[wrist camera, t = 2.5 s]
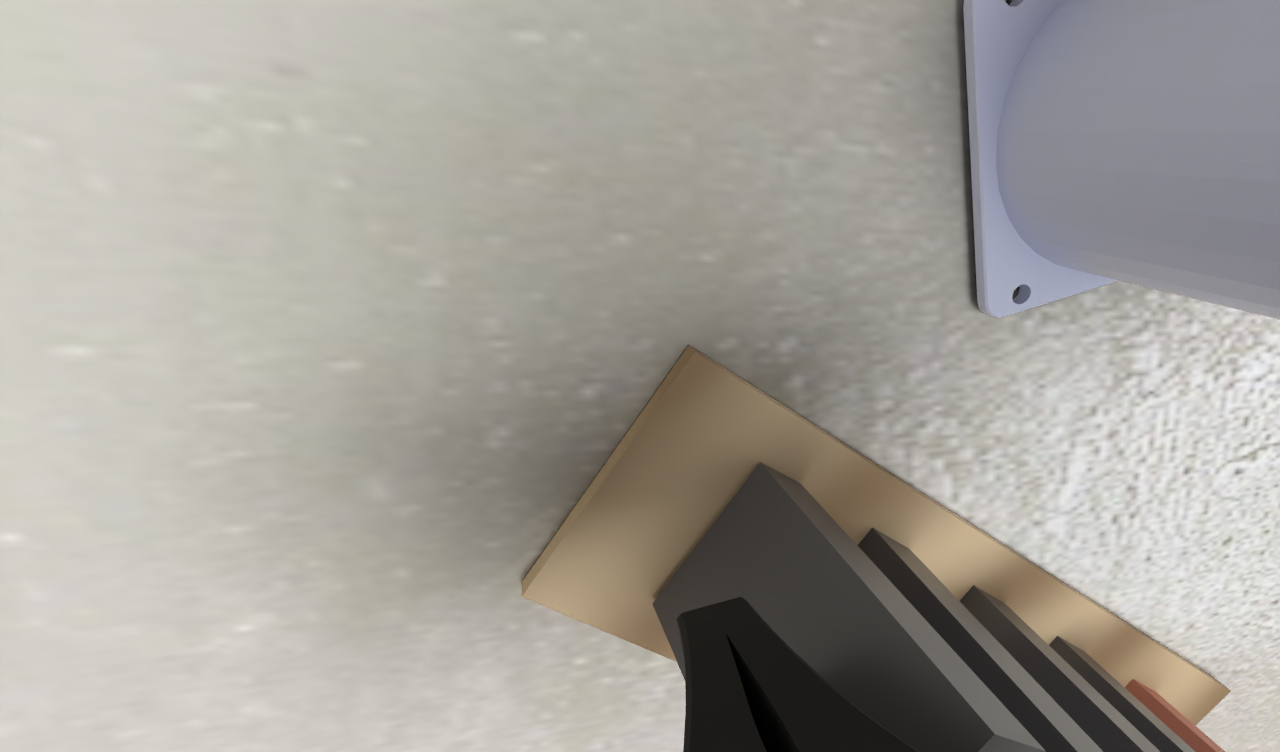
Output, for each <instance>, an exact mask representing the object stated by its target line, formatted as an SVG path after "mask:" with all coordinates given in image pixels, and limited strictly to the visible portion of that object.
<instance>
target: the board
mask: <svg viewBox="0 0 1280 752" xmlns="http://www.w3.org/2000/svg"><path fill="white" fill-rule="evenodd" d="M760 462H761V463H763V464H765V465H767V466H768V467H770V468H772V469H774V470H776V471H778V472H780V473H782V474H783V475H785V476H787V477H789V478H791V479H793V480H795V481H797V482H798V483H800V484H802V486H803V487H804V488H805V489H806V490H807V491H808V492H809V493H810V494H811V495H812V496H813V498H814V499H815V500H816V501H817V502H818V503H819V504H820V505H821V506H822V507H823V508H824V510H825V511H826V512H827V513H828V514H829V515H830V516H831V517H832V518H833V519H834V520H835V522H836V523H837V524H838V525H839V526H840V527H841V528H842V529H843V530H844V531H845V532H846V534H847V535H848V536H849V537H850V538H851V539H852V540H853V541H854V542H855V543H856V544H857V545H858V544H859V543H860V542H861V541H862V539H863V538H864V537H865V536H866V535H867V533H868V532H869V531H870V530H871V528H872V527H873V528H875V529H876V530H878V531H880V532H881V533H883V534H885V535H886V536H888V537H890V538H892V539H893V540H895V541H897V542H898V543H900V544H902V545H904V546H905V547H907V548H909V549H910V550H911V551H912V552H913V553H914V554H915V555H916V556H917V557H918V558H919V559H920V560H921V561H922V562H923V564H924V565H925V566H926V567H927V568H928V569H929V570H930V571H931V572H932V573H933V574H934V575H935V576H936V577H937V578H938V579H939V580H940V581H941V582H942V583H943V584H944V585H945V587H946V588H947V589H948V590H949V591H950V592H951V593H952V594H953V595H954V596H955V597H956V598H957V599H958V600H959V601H960V600H961V599H962V597H963V596H964V595H965V594H966V593H967V592H968V591H969V590H970V588H971V587H972V586H973V585H974V586H976V587H978V588H979V589H981V590H983V591H984V592H986V593H988V594H990V595H991V596H993V597H995V598H996V599H998V600H1000V601H1002V602H1003V603H1005V604H1006V605H1007V606H1008V607H1009V608H1010V609H1011V610H1012V611H1013V612H1015V613H1016V614H1017V615H1018V616H1019V617H1020V618H1021V619H1022V620H1023V621H1024V622H1025V623H1026V624H1027V625H1028V626H1029V627H1030V628H1031V629H1032V630H1033V631H1034V632H1035V633H1037V634H1038V635H1039V636H1040V637H1041V638H1042V639H1043V640H1044V641H1045V642H1046V643H1047V644H1048V645H1049V644H1050V643H1051V642H1052V641H1053V640H1054V639H1055V638H1056V637H1057V636H1059V637H1061V638H1062V639H1064V640H1066V641H1068V642H1069V643H1071V644H1073V645H1074V646H1076V647H1078V648H1080V649H1081V650H1083V651H1085V652H1086V653H1087V654H1088V655H1089V656H1090V657H1091V658H1093V659H1094V660H1095V661H1096V662H1097V663H1098V664H1099V665H1100V666H1101V667H1102V668H1104V669H1105V670H1106V671H1107V672H1108V673H1109V674H1110V675H1111V676H1112V677H1114V678H1115V679H1116V680H1117V681H1118V682H1119V683H1120V684H1121V685H1122V686H1123V687H1125V686H1126V685H1127V684H1128V683H1129V682H1130V681H1131V680H1132V679H1134V680H1136V681H1138V682H1140V683H1141V684H1143V685H1145V686H1146V687H1148V688H1150V689H1152V690H1153V691H1155V692H1157V693H1158V694H1159V695H1160V696H1161V697H1163V698H1164V699H1165V700H1166V701H1167V702H1168V703H1169V704H1171V705H1172V706H1173V707H1174V708H1175V709H1176V710H1178V711H1179V712H1180V713H1181V714H1182V715H1183V716H1184V717H1186V718H1187V719H1188V720H1189V721H1190V722H1191V723H1193V724H1194V725H1196V724H1197V723H1198V722H1200V721H1201V720H1202V719H1203V718H1204V717H1205V716H1206V715H1207V714H1208V713H1209V712H1210V711H1211V710H1212V709H1213V708H1214V707H1215V706H1216V705H1217V704H1218V703H1219V702H1220V701H1221V700H1222V699H1223V698H1224V697H1225V696H1226V695H1227V694H1228V693H1229V692H1230V690H1229V689H1228V688H1227V687H1225V686H1224V685H1223V684H1221V683H1220V682H1219V681H1218V680H1216V679H1215V678H1213V677H1212V676H1210V675H1209V674H1207V673H1205V672H1204V671H1202V670H1201V669H1199V668H1198V667H1196V666H1194V665H1193V664H1191V663H1190V662H1188V661H1187V660H1185V659H1183V658H1182V657H1180V656H1179V655H1177V654H1175V653H1174V652H1172V651H1171V650H1169V649H1168V648H1166V647H1164V646H1163V645H1161V644H1160V643H1158V642H1157V641H1155V640H1153V639H1152V638H1150V637H1149V636H1147V635H1146V634H1144V633H1142V632H1141V631H1139V630H1138V629H1136V628H1134V627H1133V626H1131V625H1130V624H1128V623H1127V622H1125V621H1123V620H1122V619H1120V618H1119V617H1117V616H1116V615H1114V614H1112V613H1111V612H1109V611H1108V610H1106V609H1105V608H1103V607H1101V606H1100V605H1098V604H1097V603H1095V602H1093V601H1092V600H1090V599H1089V598H1087V597H1086V596H1084V595H1082V594H1081V593H1079V592H1078V591H1076V590H1075V589H1073V588H1071V587H1070V586H1068V585H1067V584H1065V583H1064V582H1062V581H1060V580H1059V579H1057V578H1056V577H1054V576H1052V575H1051V574H1049V573H1048V572H1046V571H1045V570H1043V569H1041V568H1040V567H1038V566H1037V565H1035V564H1034V563H1032V562H1030V561H1029V560H1027V559H1026V558H1024V557H1023V556H1021V555H1019V554H1018V553H1016V552H1015V551H1013V550H1011V549H1010V548H1008V547H1007V546H1005V545H1004V544H1002V543H1000V542H999V541H997V540H996V539H994V538H993V537H991V536H989V535H988V534H986V533H985V532H983V531H981V530H980V529H978V528H977V527H975V526H974V525H972V524H970V523H969V522H967V521H966V520H964V519H963V518H961V517H959V516H958V515H956V514H955V513H953V512H952V511H950V510H948V509H947V508H945V507H944V506H942V505H940V504H939V503H937V502H936V501H934V500H933V499H931V498H929V497H928V496H926V495H925V494H923V493H922V492H920V491H918V490H917V489H915V488H914V487H912V486H911V485H909V484H907V483H906V482H904V481H903V480H901V479H899V478H898V477H896V476H895V475H893V474H892V473H890V472H888V471H887V470H885V469H884V468H882V467H881V466H879V465H877V464H876V463H874V462H873V461H871V460H870V459H868V458H866V457H865V456H863V455H862V454H860V453H858V452H857V451H855V450H854V449H852V448H851V447H849V446H847V445H846V444H844V443H843V442H841V441H840V440H838V439H836V438H835V437H833V436H832V435H830V434H829V433H827V432H825V431H824V430H822V429H821V428H819V427H817V426H816V425H814V424H813V423H811V422H810V421H808V420H806V419H805V418H803V417H802V416H800V415H799V414H797V413H795V412H794V411H792V410H791V409H789V408H788V407H786V406H784V405H783V404H781V403H780V402H778V401H776V400H775V399H773V398H772V397H770V396H769V395H767V394H765V393H764V392H762V391H761V390H759V389H758V388H756V387H754V386H753V385H751V384H750V383H748V382H746V381H745V380H743V379H742V378H740V377H739V376H737V375H735V374H734V373H732V372H731V371H729V370H728V369H726V368H724V367H723V366H721V365H720V364H718V363H717V362H715V361H713V360H712V359H710V358H709V357H707V356H705V355H704V354H702V353H701V352H699V351H698V350H696V349H694V348H693V347H691V346H690V345H688V346H687V348H686V349H685V351H684V352H683V354H682V355H681V356H680V358H679V359H678V361H677V362H676V364H675V365H674V366H673V368H672V369H671V371H670V372H669V374H668V375H667V376H666V378H665V379H664V381H663V382H662V383H661V385H660V386H659V388H658V389H657V391H656V392H655V393H654V395H653V396H652V398H651V399H650V401H649V402H648V403H647V405H646V406H645V408H644V409H643V410H642V412H641V413H640V415H639V416H638V418H637V419H636V420H635V422H634V423H633V425H632V426H631V428H630V429H629V430H628V432H627V433H626V435H625V436H624V437H623V439H622V440H621V442H620V443H619V445H618V446H617V447H616V449H615V450H614V452H613V453H612V455H611V456H610V457H609V459H608V460H607V462H606V463H605V465H604V466H603V467H602V469H601V470H600V472H599V473H598V474H597V476H596V477H595V479H594V480H593V482H592V483H591V484H590V486H589V487H588V489H587V490H586V492H585V493H584V494H583V496H582V497H581V499H580V500H579V501H578V503H577V504H576V506H575V507H574V509H573V510H572V511H571V513H570V514H569V516H568V517H567V519H566V520H565V521H564V523H563V524H562V526H561V527H560V529H559V530H558V531H557V533H556V534H555V536H554V537H553V538H552V540H551V541H550V543H549V544H548V546H547V547H546V548H545V550H544V551H543V553H542V554H541V556H540V557H539V558H538V560H537V561H536V563H535V564H534V565H533V567H532V568H531V570H530V571H529V573H528V574H527V575H526V577H525V578H524V580H523V581H522V597H524V598H526V599H529V600H531V601H533V602H536V603H538V604H541V605H543V606H545V607H548V608H550V609H552V610H555V611H557V612H560V613H562V614H564V615H567V616H569V617H572V618H574V619H576V620H579V621H581V622H583V623H586V624H588V625H591V626H593V627H595V628H598V629H600V630H603V631H605V632H607V633H610V634H612V635H614V636H617V637H619V638H622V639H624V640H626V641H629V642H631V643H634V644H636V645H638V646H641V647H643V648H645V649H648V650H650V651H653V652H655V653H657V654H660V655H662V656H665V657H667V658H669V659H672V660H674V661H676V662H677V660H676V658H675V656H674V653H673V651H672V649H671V646H670V644H669V642H668V639H667V637H666V635H665V632H664V630H663V628H662V625H661V623H660V621H659V618H658V616H657V614H656V611H655V609H654V607H653V602H654V601H655V600H656V598H657V597H658V596H659V594H660V593H661V592H662V590H663V589H664V588H665V587H666V585H667V584H668V583H669V581H670V580H671V579H672V577H673V576H674V575H675V573H676V572H677V571H678V569H679V568H680V567H681V566H682V564H683V563H684V562H685V560H686V559H687V558H688V556H689V555H690V554H691V552H692V551H693V550H694V548H695V547H696V546H697V545H698V543H699V542H700V541H701V539H702V538H703V537H704V535H705V534H706V533H707V531H708V530H709V529H710V527H711V526H712V525H713V524H714V522H715V521H716V520H717V518H718V517H719V516H720V514H721V513H722V512H723V510H724V509H725V508H726V506H727V505H728V504H729V503H730V501H731V500H732V499H733V497H734V496H735V495H736V493H737V492H738V491H739V489H740V488H741V487H742V485H743V484H744V483H745V482H746V480H747V479H748V478H749V476H750V475H751V474H752V472H753V471H754V470H755V468H756V467H757V466H758V464H759V463H760Z"/></svg>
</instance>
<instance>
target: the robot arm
mask: <svg viewBox="0 0 1280 752" xmlns="http://www.w3.org/2000/svg"><path fill="white" fill-rule="evenodd" d="M963 11H964V32H965V53H966V73H967V94H968V115H969V136H970V157H971V177H972V198H973V219H974V240H975V261H976V281H977V302H978V306H979V309H980V310H981V311H982V312H983V313H984V314H987V315H990V316H992V317H995V318H1001V317H1006V316H1009V315H1012V314H1015V313H1018V312H1022V311H1025V310H1028V309H1031V308H1034V307H1037V306H1041V305H1044V304H1047V303H1050V302H1053V301H1056V300H1060V299H1063V298H1066V297H1069V296H1072V295H1076V294H1079V293H1082V292H1085V291H1088V290H1091V289H1095V288H1098V287H1101V286H1104V285H1107V284H1110V283H1114V282H1117V281H1123V282H1127V283H1131V284H1135V285H1139V286H1143V287H1148V288H1152V289H1156V290H1160V291H1164V292H1168V293H1172V294H1177V295H1181V296H1185V297H1189V298H1193V299H1197V300H1201V301H1206V302H1210V303H1214V304H1218V305H1222V306H1226V307H1230V308H1234V309H1239V310H1243V311H1247V312H1251V313H1255V314H1259V315H1263V316H1268V317H1272V318H1276V319H1280V0H1012V2H1011V4H1010V5H1008V4H1007V3H1006V1H1005V0H964V6H963ZM1018 286H1019V287H1020V290H1019V294H1018V295H1017V296H1016V298H1014V299H1012V296H1013V292H1014V290H1015V289H1016V288H1017V287H1018ZM677 624H678V629H679V635H680V640H681V645H682V650H683V655H684V660H685V673H686V717H685V735H684V751H683V752H920V751H918V750H917V749H915V748H914V747H912V746H911V745H909V744H908V743H906V742H905V741H903V740H902V739H900V738H899V737H897V736H896V735H895V734H893V733H892V732H890V731H889V730H888V729H886V728H885V727H884V726H882V725H881V724H879V723H878V722H877V721H875V720H874V719H873V718H871V717H870V716H869V715H867V714H866V713H865V712H864V711H862V710H861V709H860V708H858V707H857V706H856V705H855V704H853V703H852V702H851V701H850V700H849V699H847V698H846V697H845V696H844V695H842V694H841V693H840V692H839V691H838V690H836V689H835V688H834V687H833V686H832V685H831V684H829V683H828V682H827V681H826V680H825V679H824V678H822V677H821V676H820V675H819V674H818V673H817V672H816V671H815V670H814V669H813V668H811V667H810V666H809V665H808V664H807V663H806V662H805V661H804V660H803V659H802V658H801V657H800V656H799V655H797V654H796V653H795V652H794V651H793V650H792V649H791V648H790V647H789V646H788V645H787V644H786V643H785V642H784V641H783V640H782V639H781V638H780V637H779V636H778V635H777V634H776V633H775V632H774V631H773V630H772V629H771V627H770V626H769V625H768V624H767V623H766V622H765V621H764V620H763V619H762V618H761V617H760V616H759V614H758V613H757V612H756V611H755V610H754V609H753V607H752V606H751V605H750V604H749V603H748V601H747V600H745V599H744V598H742V597H738V598H734V599H730V600H727V601H723V602H719V603H716V604H712V605H708V606H705V607H701V608H697V609H694V610H690V611H686V612H683V613H681V614H680V615H679V616H678V618H677Z"/></svg>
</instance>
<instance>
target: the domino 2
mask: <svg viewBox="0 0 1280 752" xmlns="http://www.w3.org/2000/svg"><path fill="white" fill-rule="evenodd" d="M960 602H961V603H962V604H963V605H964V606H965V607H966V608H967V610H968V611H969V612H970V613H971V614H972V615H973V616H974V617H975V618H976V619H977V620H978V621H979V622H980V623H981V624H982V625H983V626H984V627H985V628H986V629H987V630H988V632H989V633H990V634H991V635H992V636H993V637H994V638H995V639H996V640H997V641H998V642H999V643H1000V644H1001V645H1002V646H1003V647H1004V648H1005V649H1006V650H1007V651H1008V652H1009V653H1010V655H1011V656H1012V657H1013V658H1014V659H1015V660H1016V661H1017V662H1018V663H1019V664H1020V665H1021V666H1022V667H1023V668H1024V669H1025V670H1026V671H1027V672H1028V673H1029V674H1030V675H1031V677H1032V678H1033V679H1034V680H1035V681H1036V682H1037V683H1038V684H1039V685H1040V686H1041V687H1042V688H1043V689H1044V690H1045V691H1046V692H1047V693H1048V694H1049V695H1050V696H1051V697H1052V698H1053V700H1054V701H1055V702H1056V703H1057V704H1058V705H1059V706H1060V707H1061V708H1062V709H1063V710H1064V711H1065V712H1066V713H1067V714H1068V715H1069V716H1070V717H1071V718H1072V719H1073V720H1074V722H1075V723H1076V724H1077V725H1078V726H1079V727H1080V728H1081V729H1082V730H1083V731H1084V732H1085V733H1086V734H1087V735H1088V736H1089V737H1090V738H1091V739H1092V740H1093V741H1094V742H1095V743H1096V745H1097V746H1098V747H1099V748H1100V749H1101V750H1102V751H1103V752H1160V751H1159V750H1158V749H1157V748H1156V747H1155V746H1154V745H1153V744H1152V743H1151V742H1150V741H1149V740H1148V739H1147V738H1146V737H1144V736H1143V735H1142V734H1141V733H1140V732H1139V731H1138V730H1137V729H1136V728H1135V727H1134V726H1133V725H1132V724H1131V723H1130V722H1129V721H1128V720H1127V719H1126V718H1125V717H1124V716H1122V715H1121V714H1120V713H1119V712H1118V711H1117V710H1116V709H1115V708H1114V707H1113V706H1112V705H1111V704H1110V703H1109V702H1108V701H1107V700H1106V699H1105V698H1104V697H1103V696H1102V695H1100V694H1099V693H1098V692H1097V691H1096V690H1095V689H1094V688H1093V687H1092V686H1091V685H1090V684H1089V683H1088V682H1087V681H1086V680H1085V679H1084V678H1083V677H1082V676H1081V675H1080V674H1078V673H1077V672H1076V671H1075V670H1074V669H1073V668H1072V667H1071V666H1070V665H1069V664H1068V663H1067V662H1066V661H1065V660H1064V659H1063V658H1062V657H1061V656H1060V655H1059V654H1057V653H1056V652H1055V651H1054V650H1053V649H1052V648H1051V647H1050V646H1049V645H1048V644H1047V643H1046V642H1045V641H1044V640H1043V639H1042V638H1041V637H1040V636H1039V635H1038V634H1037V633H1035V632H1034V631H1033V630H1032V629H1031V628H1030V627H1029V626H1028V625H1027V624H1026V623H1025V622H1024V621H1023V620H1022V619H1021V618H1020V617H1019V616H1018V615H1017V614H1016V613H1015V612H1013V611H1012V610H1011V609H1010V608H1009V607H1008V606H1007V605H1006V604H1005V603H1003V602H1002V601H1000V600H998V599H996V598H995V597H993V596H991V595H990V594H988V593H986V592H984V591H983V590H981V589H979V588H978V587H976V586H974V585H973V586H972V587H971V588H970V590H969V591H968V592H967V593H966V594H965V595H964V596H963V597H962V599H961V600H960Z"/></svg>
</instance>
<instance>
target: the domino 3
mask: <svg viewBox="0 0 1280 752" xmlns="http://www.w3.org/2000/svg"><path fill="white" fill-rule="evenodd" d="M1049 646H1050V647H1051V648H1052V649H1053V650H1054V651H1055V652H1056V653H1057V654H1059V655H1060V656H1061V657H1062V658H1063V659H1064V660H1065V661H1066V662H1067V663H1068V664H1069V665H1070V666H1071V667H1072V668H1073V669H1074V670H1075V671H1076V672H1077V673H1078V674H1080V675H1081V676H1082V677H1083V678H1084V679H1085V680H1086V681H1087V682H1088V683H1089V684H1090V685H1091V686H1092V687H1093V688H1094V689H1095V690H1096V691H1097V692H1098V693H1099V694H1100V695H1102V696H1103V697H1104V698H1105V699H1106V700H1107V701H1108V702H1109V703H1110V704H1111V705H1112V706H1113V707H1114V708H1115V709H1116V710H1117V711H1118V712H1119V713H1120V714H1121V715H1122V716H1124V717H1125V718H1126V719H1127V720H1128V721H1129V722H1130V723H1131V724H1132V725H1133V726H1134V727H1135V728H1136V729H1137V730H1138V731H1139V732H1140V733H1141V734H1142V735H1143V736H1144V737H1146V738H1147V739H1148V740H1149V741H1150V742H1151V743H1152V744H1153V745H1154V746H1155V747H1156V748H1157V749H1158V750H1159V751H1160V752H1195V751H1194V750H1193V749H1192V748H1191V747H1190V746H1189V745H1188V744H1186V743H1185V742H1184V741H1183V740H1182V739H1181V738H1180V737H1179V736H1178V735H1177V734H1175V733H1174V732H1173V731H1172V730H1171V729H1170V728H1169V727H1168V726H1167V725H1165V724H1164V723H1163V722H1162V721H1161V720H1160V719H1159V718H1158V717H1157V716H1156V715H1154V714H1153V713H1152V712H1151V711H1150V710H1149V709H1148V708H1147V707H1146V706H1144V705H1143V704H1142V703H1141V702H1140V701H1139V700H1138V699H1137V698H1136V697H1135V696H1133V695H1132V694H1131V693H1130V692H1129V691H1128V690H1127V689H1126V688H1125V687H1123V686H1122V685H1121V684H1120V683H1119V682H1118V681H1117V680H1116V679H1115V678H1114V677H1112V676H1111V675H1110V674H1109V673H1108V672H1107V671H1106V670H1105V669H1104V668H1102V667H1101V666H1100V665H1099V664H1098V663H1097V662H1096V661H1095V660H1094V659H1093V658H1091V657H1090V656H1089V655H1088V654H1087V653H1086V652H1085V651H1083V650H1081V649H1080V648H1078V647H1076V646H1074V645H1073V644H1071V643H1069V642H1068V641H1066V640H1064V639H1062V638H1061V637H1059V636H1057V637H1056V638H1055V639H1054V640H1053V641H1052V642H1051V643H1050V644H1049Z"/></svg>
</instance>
